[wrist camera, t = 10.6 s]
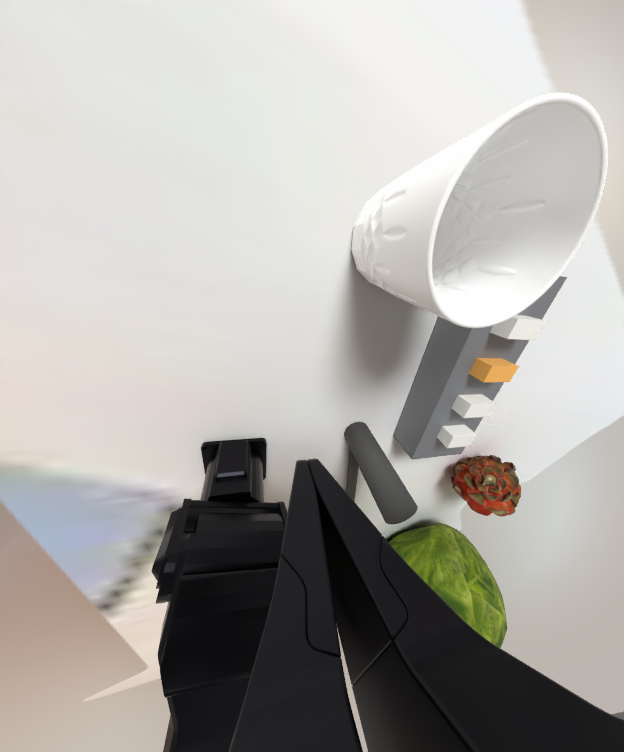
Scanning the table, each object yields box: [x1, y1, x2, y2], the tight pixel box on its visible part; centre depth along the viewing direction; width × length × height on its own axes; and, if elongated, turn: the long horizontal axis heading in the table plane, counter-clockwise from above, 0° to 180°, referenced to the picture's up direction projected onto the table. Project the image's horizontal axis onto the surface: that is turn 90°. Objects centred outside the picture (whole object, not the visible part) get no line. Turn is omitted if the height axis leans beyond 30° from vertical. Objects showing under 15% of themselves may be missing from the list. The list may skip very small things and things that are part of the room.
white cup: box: [351, 93, 608, 328], centre depth 14 cm, size 8×8×10 cm
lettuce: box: [389, 523, 507, 648], centre depth 40 cm, size 18×23×19 cm
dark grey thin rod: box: [347, 451, 358, 501], centre depth 31 cm, size 11×1×1 cm, turn 1°
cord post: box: [344, 422, 417, 524], centre depth 23 cm, size 3×3×10 cm
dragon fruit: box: [451, 455, 521, 516], centre depth 34 cm, size 8×8×12 cm
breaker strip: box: [394, 276, 567, 459], centre depth 23 cm, size 20×7×6 cm, turn 173°
